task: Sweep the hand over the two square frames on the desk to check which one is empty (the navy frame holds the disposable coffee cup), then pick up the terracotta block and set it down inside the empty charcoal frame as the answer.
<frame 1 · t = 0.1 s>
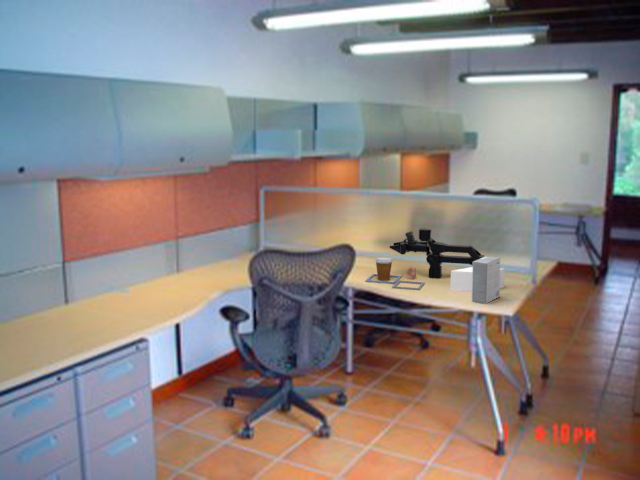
hand: (391, 245, 361), 17 cm above the table, tool horizontal, fingers open, 9 cm apart
block: (411, 278, 352), on the table
frame cup: (383, 279, 350), on the table
frame empty: (408, 285, 336), on the table
white box: (477, 289, 329), on the table
disposable coffee cup: (383, 279, 350), resting in frame cup
hard drive box: (485, 300, 308), on the table
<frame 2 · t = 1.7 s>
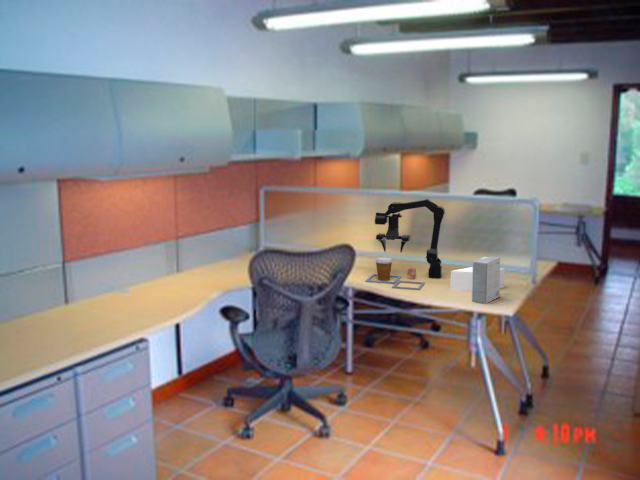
hand: (393, 252, 360), 13 cm above the table, tool pointing down, fingers open, 9 cm apart
nothing on the table moved.
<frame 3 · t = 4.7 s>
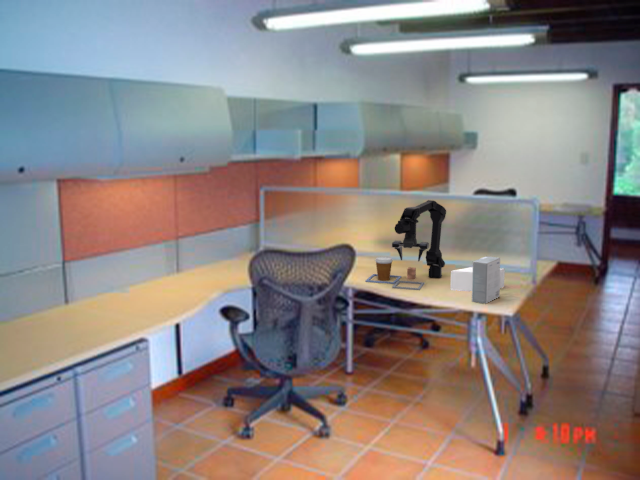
hand: (410, 260, 336), 13 cm above the table, tool pointing down, fingers open, 9 cm apart
nothing on the table moved.
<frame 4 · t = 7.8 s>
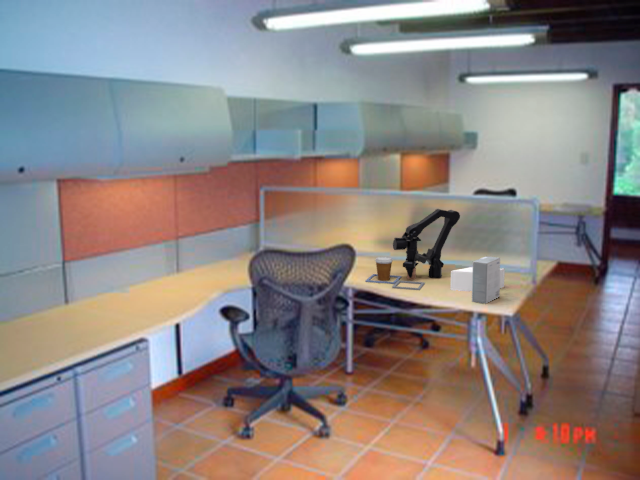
hand: (411, 276, 352), 1 cm above the table, tool pointing down, fingers closed on block, 4 cm apart
block: (411, 278, 352), on the table, touching gripper
everything else where it was.
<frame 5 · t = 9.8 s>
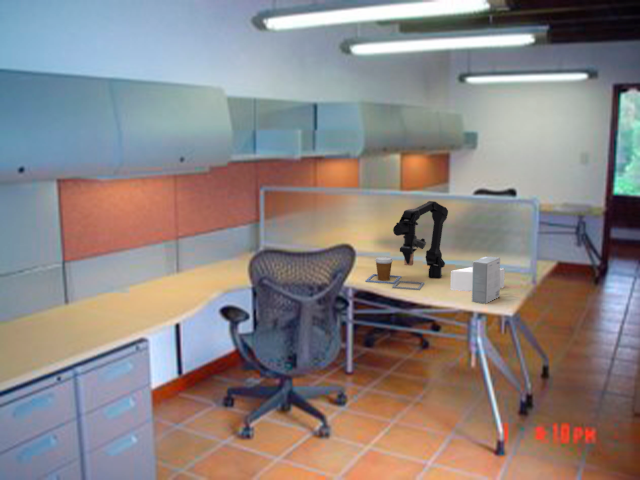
hand: (408, 262, 338), 11 cm above the table, tool pointing down, fingers closed on block, 4 cm apart
block: (408, 264, 339), point 10 cm above the table, touching gripper
everything else where it was.
when the fingers open (2 cm above the table, at t = 12.1 s): block drops 2 cm, resting in frame empty.
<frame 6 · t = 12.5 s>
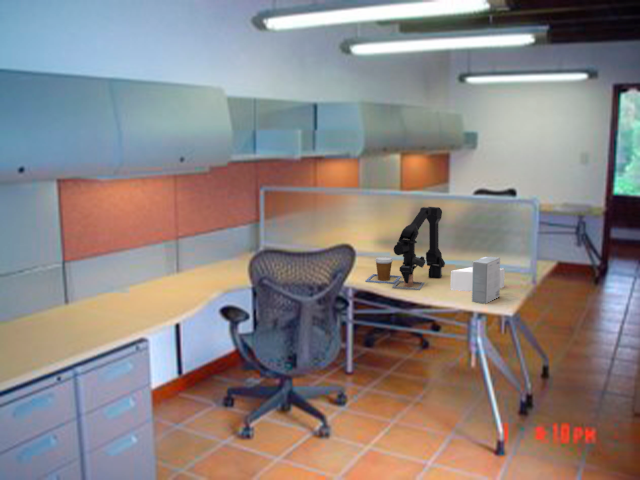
hand: (408, 281, 335), 2 cm above the table, tool pointing down, fingers open, 9 cm apart
block: (408, 286, 336), resting in frame empty
everything else where it was.
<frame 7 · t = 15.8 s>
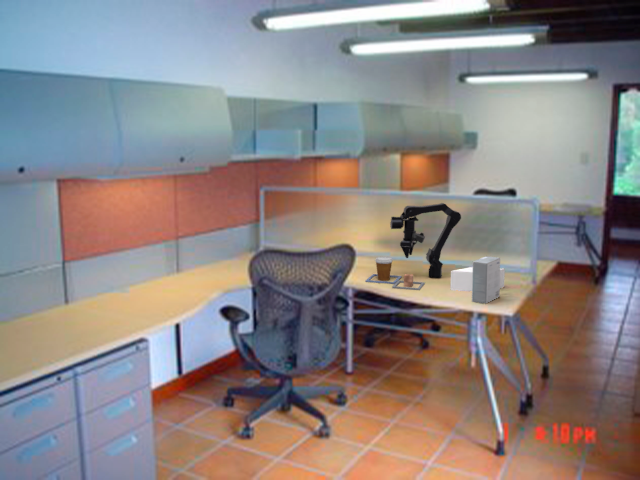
hand: (408, 256, 353), 12 cm above the table, tool pointing down, fingers open, 9 cm apart
nothing on the table moved.
at the end: block inside the target area on the frame empty (0.1 cm from its centre), point 0.0 cm above the frame empty's base; block tilted 0°; the gripper is holding nothing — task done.
